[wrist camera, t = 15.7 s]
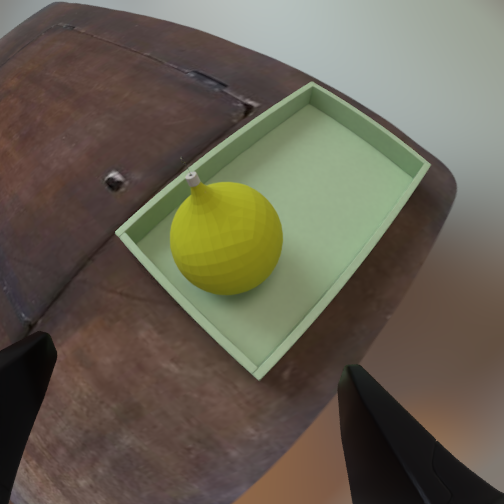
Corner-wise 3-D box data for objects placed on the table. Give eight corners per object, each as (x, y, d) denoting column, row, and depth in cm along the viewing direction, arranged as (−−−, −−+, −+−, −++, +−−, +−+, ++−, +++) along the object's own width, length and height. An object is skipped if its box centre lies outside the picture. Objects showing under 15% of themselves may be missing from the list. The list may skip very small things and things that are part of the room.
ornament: (186, 214, 24) (156, 127, 15) (276, 215, 24) (292, 125, 15) (178, 303, 21) (129, 254, 12) (277, 306, 21) (302, 257, 12)
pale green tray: (417, 182, 26) (431, 164, 24) (257, 378, 20) (259, 381, 17) (307, 102, 30) (311, 81, 27) (128, 248, 23) (114, 232, 21)
